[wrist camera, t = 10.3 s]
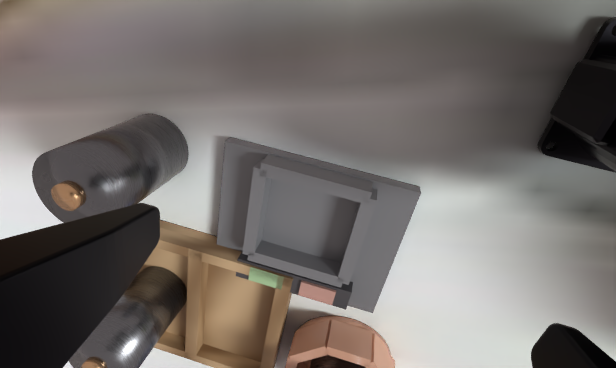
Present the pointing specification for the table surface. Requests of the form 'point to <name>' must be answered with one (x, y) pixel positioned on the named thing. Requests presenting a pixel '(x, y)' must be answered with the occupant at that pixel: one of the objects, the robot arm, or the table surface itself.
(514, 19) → the table surface
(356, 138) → the table surface
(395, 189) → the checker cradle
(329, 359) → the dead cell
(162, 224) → the trough board
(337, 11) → the table surface
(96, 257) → the robot arm
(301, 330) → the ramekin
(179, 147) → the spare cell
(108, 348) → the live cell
